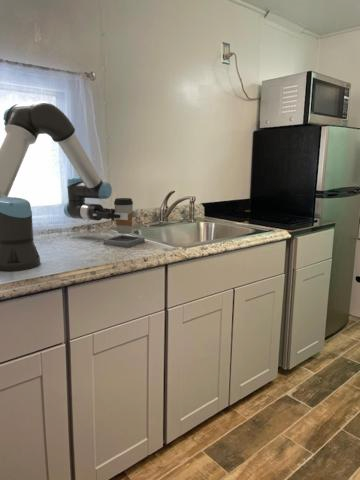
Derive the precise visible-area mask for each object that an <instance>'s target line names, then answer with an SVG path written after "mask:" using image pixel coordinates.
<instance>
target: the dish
mask: <svg viewBox="0 0 360 480" xmlns="http://www.w3.org/2000/svg"><path fill="white" fill-rule="evenodd" d="M145 239H146V238H145V237H143V236H134V235H128V234H127V235H126V234H120V235H119V234H118V235H117V236H111V237H108V238H104V239H103V245H105V246H112V247H119V248H126V249H128V248H132V247H135V246H137V245H140V244H144V243H145V242H146V241H145Z"/></svg>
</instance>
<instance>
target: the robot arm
mask: <svg viewBox="0 0 360 480" xmlns="http://www.w3.org/2000/svg"><path fill="white" fill-rule="evenodd" d="M3 121H4V122H3V124H4V131H5V133H6V136H5V138H4V139H3V142H2V143H1V144H2V145H1V147H0V271H2V272H12V271H13V272H17V271H23V270H29V269H33V268H36V267H38V266H39V265H41V256H40V255H39V252H38V250H37V247H36V245H35V242H34V230H33V229H34V228H33V227H34V226H33V211H32V208H31V203H30V201H29V200H27V199H24V198H21V197H17V196H16V197H12V196H9V194H10V191H11V189H12V187H13V185H14V182H15V180H16V177H17V176H18V173H19V171H20V168H21V166H22V164H23V161H24V158H25V156H26V154H27V153H28V149H29V148H30V145H33V144H35V143H36V141H37V139H38V137H39V135H40V134H41V135H42V134H46V135H48V136H50V137H51V139H52V141H53V142H55V143H57V144H58V145H59V146H60V148H61V150H62V152H63V153H64V155H65V156H66V158H67V160H68V161H69V162H70V164H71V166H72V168H73V169H74V170H75V172H76V173H77V175H78V176H79V177H78V176H74V177H68V178H67V181H66V182H67V186H66V188H67V196H68V197H67V199H68V201H67V202H66V203H65V204H64V208H63V213H64V215H65V216H66V217H68V218H72V219H77V220H78V219H79V220H87V222H89V221H90V220H91V221H101V220H103V219H104V220H111V221H113V222H114V221H115V220H116V219H121V220H128V214H127V213H115V208H107V207H106V208H104V206H103V205H101V204H99V203H97V204H96V203H89V202H88V203H87V202H86V199H94V200H97V199H98V200H107V199H109V198H111V196H112V194H113V186H112V185H111V184H110V182H108V181H107V182H106V181H103V180H102V178H101V176H100V174H99V173H98V171H97V169H96V167H95V166H94V165H93V163H92V161H91V159H90V158H89V156H88V154H87V152H86V150H85V149H84V147H83V146H82V144H81V142H80V141H79V138H78V137H77V136H76V129H75V127H74V125H73V123H72V122H71V120H70V119H69V118H68V117H67V115H66V114H65V113H64V112H63V111H62V110H61V109H60V108H58V107H57V106H56V105H54V104H52V103H50V102H47V101H33V102H18V103H14V104H11V105H9V106H8V107H7V108H6V109H5V111H4V113H3ZM132 212H133V213H132V218H137V219H138V218H140V211H139V210H132Z"/></svg>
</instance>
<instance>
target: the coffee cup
mask: <svg viewBox="0 0 360 480" xmlns="http://www.w3.org/2000/svg"><path fill="white" fill-rule="evenodd" d="M113 204H114V209H115V213H127V214H128V220H121V219H115V226H116V232H117V234H118V235H119V234H120V235H126V234H127V235H128V234H131V233H132V229H133V217H132V213H133V212H132V211H133V205H134V202H133V199H132V198H131V197H119V198H118V197H117V198H115V199H114V201H113Z"/></svg>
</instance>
